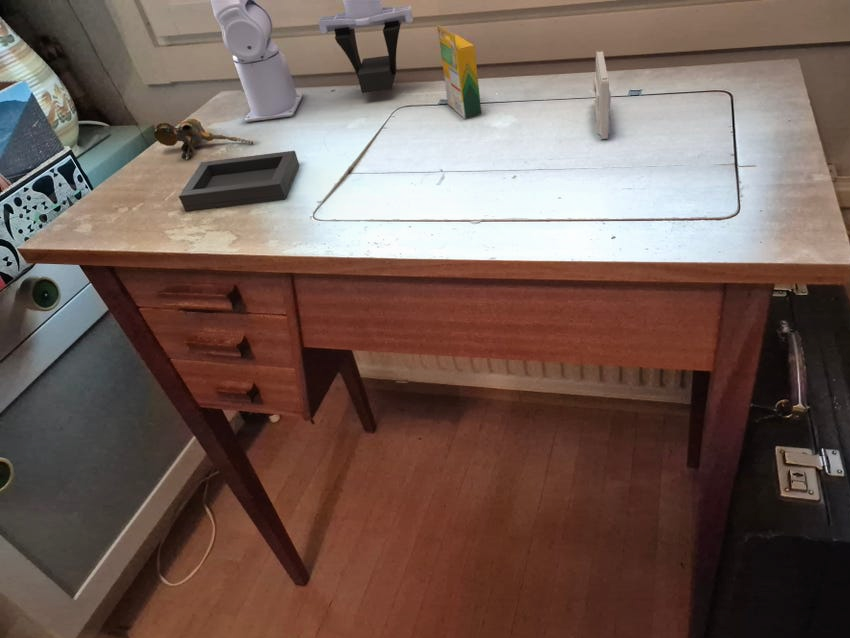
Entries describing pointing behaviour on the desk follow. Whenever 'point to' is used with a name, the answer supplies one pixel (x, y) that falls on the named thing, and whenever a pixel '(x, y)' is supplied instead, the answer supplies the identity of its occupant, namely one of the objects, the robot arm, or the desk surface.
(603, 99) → the cassette
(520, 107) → the desk surface
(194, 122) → the regulator
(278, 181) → the dark grey rectangular tray
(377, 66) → the dark grey block
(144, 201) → the desk surface
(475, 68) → the crayon box
